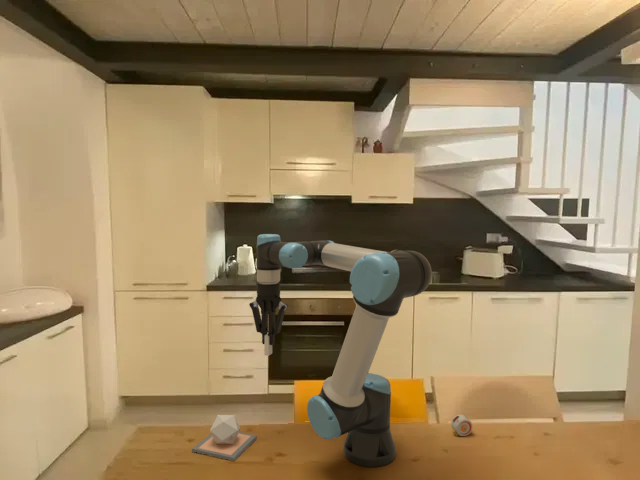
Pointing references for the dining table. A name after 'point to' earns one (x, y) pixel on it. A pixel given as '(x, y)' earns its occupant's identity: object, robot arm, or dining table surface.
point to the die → (225, 429)
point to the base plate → (225, 446)
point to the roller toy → (461, 425)
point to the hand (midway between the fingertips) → (268, 354)
